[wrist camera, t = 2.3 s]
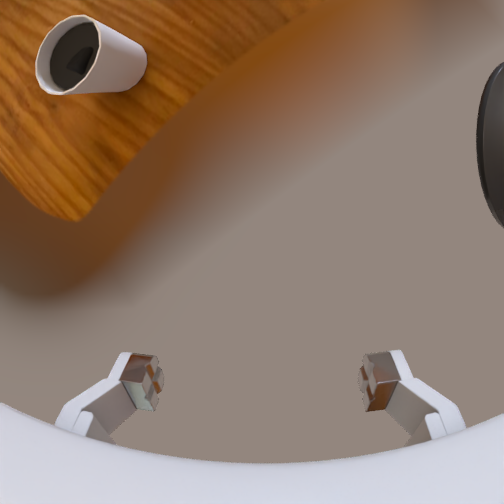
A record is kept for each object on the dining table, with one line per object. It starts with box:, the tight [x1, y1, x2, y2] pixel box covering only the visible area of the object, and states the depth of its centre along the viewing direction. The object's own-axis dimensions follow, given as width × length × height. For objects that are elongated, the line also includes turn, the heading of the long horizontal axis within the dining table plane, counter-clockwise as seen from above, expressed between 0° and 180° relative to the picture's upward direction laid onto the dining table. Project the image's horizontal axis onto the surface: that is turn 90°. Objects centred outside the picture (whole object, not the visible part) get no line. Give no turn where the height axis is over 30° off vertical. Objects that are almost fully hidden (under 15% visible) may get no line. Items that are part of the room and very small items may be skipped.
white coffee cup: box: [36, 15, 147, 95], centre depth 19 cm, size 7×7×10 cm
